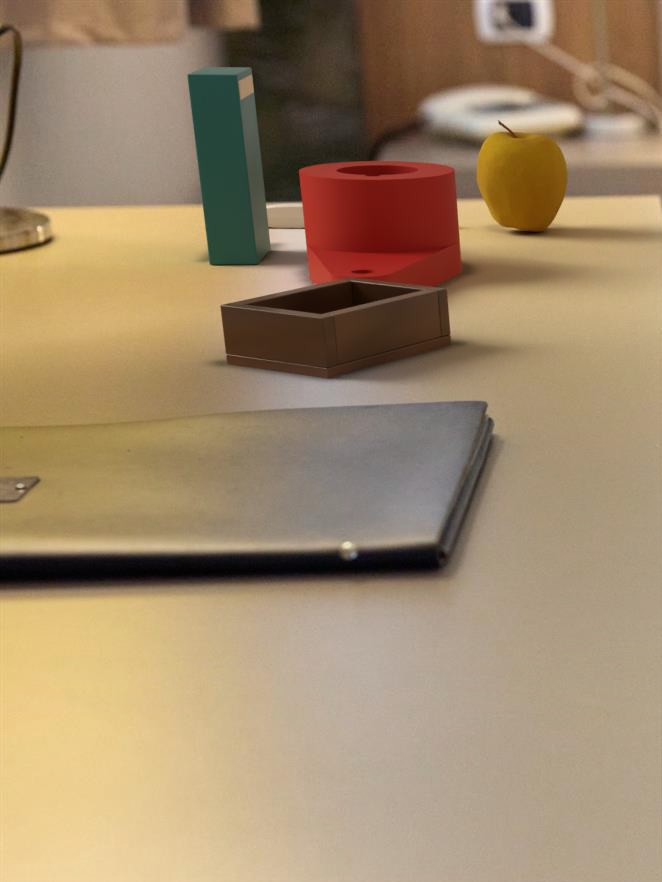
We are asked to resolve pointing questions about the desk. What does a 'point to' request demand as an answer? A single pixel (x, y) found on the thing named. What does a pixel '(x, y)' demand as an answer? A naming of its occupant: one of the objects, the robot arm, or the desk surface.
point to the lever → (381, 221)
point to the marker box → (229, 164)
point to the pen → (285, 216)
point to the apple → (522, 179)
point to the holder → (335, 326)
